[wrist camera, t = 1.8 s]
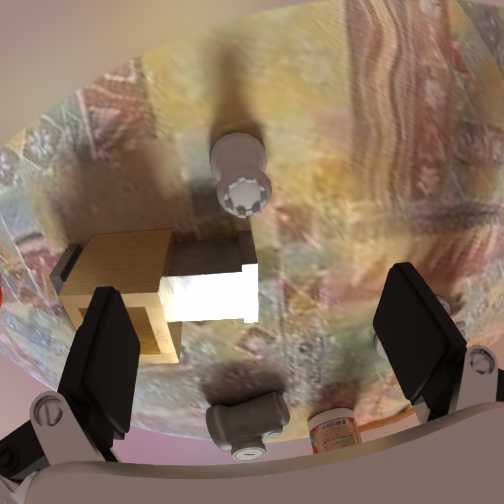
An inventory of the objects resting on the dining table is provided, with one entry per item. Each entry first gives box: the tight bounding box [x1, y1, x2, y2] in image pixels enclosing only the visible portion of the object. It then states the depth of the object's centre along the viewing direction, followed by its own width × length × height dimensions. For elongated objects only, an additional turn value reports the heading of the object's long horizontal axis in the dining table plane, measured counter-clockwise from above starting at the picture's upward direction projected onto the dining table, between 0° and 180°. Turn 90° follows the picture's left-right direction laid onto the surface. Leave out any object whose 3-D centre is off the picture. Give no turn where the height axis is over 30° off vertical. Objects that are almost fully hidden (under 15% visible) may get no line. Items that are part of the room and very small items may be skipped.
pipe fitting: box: [206, 392, 290, 461], centre depth 41 cm, size 12×8×10 cm
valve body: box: [49, 228, 258, 363], centre depth 25 cm, size 18×8×8 cm, turn 91°
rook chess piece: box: [209, 132, 272, 218], centre depth 20 cm, size 4×4×8 cm
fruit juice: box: [308, 408, 362, 454], centre depth 41 cm, size 9×9×28 cm
